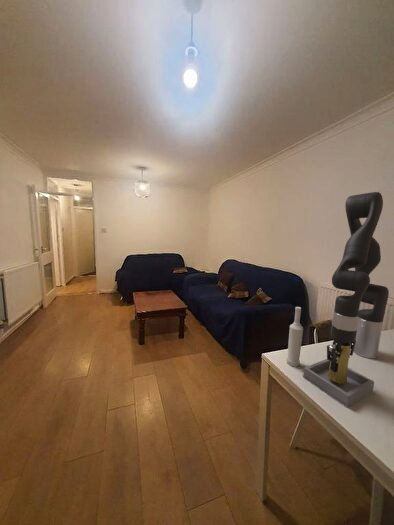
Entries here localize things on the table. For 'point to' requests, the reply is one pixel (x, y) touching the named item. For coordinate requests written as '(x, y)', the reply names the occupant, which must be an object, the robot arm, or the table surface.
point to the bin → (342, 393)
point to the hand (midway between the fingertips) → (338, 368)
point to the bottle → (295, 340)
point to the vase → (341, 367)
